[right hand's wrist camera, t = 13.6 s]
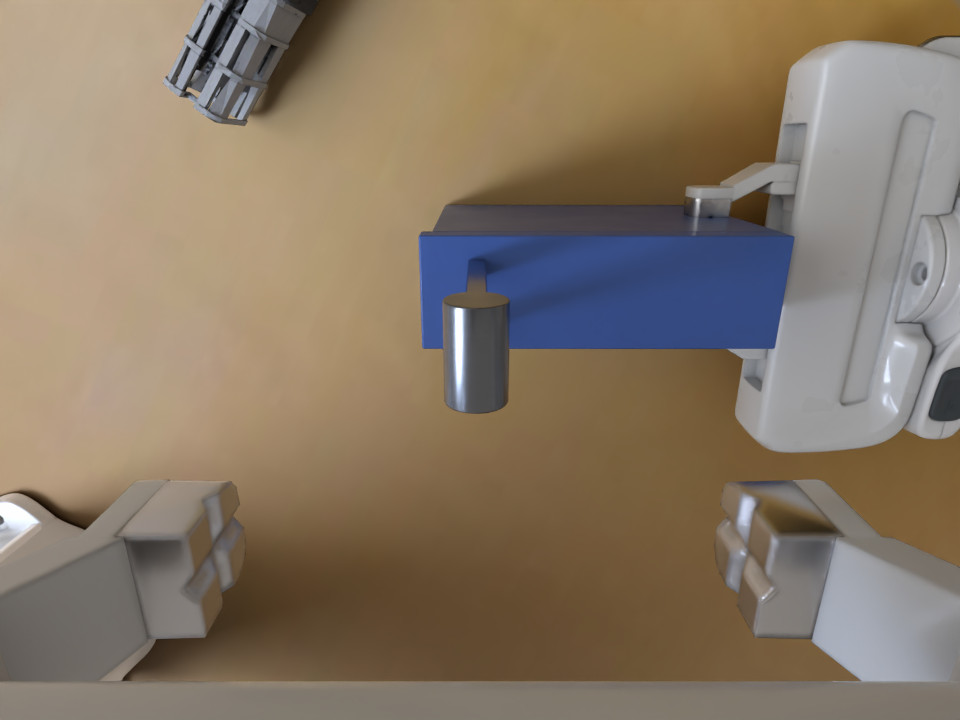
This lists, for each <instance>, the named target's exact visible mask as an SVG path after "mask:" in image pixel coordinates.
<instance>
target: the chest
mask: <svg viewBox="0 0 960 720" xmlns="http://www.w3.org/2000/svg"><path fill="white" fill-rule="evenodd" d="M433 232H780V231H777V230H773V229H770V228H767V227H763V226H760V225H757V224H754V223H750V222H747V221H744V220H741V219H737V218H734V217H731V216H729V218H713V217H708V218H693V217H689V216H688V215H684V205H446V206H445V207H444V209H443V211H442V213H441V215H440V217H439V219H438V221H437V223H436V225H435V227H434V229H433Z"/></svg>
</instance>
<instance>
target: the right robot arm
mask: <svg viewBox="0 0 960 720" xmlns="http://www.w3.org/2000/svg"><path fill="white" fill-rule="evenodd" d="M239 505H240V502H239V497H238V492H237V487H236V486H235V485H234V484H233V483H232V482H231V481H193V480H172V481H171V480H141V481H136V482H134V483H133V484H132V485H131V486H130V487H129V488H128V489H127V490H126V491H125V492H124V493H123V494H122V495H121V496H120V497H119V498H118V499H117V500H116V501H115V502H114V503H113V504H112V505H111V506H110V507H109V508H108V509H107V510H106V511H104V512H103V513H102V514H101V515H100V516H99V517H98V518H97V519H96V520H95V521H94V522H93V523H92V524H91V525H90V526H89V527H88V528H87V529H86V530H84V529H81V528H79V527H76V526H74V525H71V524H69V523H66V522H64V521H62V520H60V519H58V518H57V517H55V516H54V515H53V514H52V513H50V512H49V511H48V510H47V509H45V508H44V507H43V506H41V505H40V504H39V503H37V502H36V501H34V500H33V499H31V498H29V497H28V496H25V495H23V494H19V493H11V494H7V495H4V496H0V515H1V516H0V720H960V567H958V566H956V565H954V564H951V563H949V562H947V561H945V560H942V559H940V558H938V557H935V556H933V555H931V554H929V553H926V552H924V551H922V550H920V549H917V548H915V547H913V546H911V545H908V544H906V543H904V542H902V541H899V540H897V539H895V538H893V537H881V536H880V535H879V534H878V533H877V532H876V531H875V530H874V529H873V528H872V527H871V526H870V525H869V524H868V523H867V522H866V521H865V520H864V519H863V518H862V517H861V516H860V515H859V514H858V513H857V512H856V511H855V510H854V509H853V508H852V507H851V506H850V505H848V504H847V503H846V502H845V501H844V500H843V499H842V498H841V497H840V496H839V495H838V494H837V493H836V492H835V491H834V490H833V489H832V488H831V487H830V486H829V485H828V484H827V483H826V482H823V481H821V480H818V479H815V480H790V481H750V482H726V484H725V486H724V489H723V491H722V496H721V501H720V505H721V507H722V508H723V510H724V511H725V513H726V515H727V517H726V518H725V519H724V520H723V521H722V522H721V523H720V524H719V525H718V526H717V527H716V534H715V542H714V548H715V558H716V564H717V567H718V570H719V573H720V575H721V577H722V579H723V581H724V583H725V585H726V586H728V587H729V588H731V589H732V590H734V591H735V592H737V593H738V594H739V595H738V601H737V607H738V608H739V610H740V612H741V614H742V616H743V617H744V619H745V621H746V623H747V624H748V626H749V628H750V630H751V632H752V633H753V635H754V637H755V638H789V639H812V641H811V642H813V643H814V644H815V645H816V646H818V647H819V648H820V649H821V650H823V651H824V652H825V653H827V654H828V655H829V656H830V657H832V658H833V659H834V660H835V661H837V662H838V663H839V664H841V665H842V666H843V667H844V668H846V669H847V670H848V671H850V672H851V673H852V674H853V675H855V676H856V677H857V678H858V679H860V680H861V681H122V680H123V677H124V676H125V675H126V674H127V673H128V672H129V671H130V670H131V669H132V668H133V667H134V666H135V665H136V664H137V663H138V662H139V661H140V660H141V659H142V658H144V657H145V656H146V654H147V653H148V652H149V651H150V650H151V648H152V647H153V645H154V643H155V641H156V639H170V638H205V637H206V635H207V633H208V632H209V630H210V628H211V626H212V625H213V623H214V621H215V619H216V617H217V616H218V614H219V612H220V610H221V608H222V607H223V601H222V595H221V594H222V593H223V592H225V591H226V590H228V589H229V588H231V587H232V586H234V585H235V583H236V581H237V579H238V577H239V575H240V573H241V570H242V566H243V562H244V558H245V542H246V540H245V533H244V527H243V526H242V525H241V524H240V523H239V522H238V521H237V520H236V519H235V518H234V517H233V515H234V513H235V511H236V510H237V508H238V507H239Z"/></svg>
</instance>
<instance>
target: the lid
mask: <svg viewBox="0 0 960 720" xmlns="http://www.w3.org/2000/svg"><path fill="white" fill-rule="evenodd" d="M794 238H795V237H794V236H792V235H789V234H786V233H782V232H421V234H420V235H419V261H420V291H421V321H422V347H423V348H424V349H443V355H444V401H445V403H446V405H447V406H448V407H450V408H451V409H453V410H456V411H459V412H463V413H473V414H480V413H489V412H493V411H497V410H499V409H501V408H503V407H504V406H506V404H507V403H508V387H509V349H774V348H775V345H776V339H777V334H778V328H779V322H780V317H781V311H782V306H783V300H784V294H785V289H786V283H787V278H788V272H789V266H790V261H791V255H792V250H793V244H794Z"/></svg>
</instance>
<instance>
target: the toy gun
mask: <svg viewBox="0 0 960 720" xmlns="http://www.w3.org/2000/svg"><path fill="white" fill-rule="evenodd" d="M318 1H319V0H205V1H204V3H203V5H202V7H201V9H200V11H199V13H198V15H197V17H196V19H195V21H194V23H193V25H192V27H191V29H190V31H189V33H188V35H186V37H185V38H184V42H185V44H184V46H183V48H182V50H181V52H180V54H179V55H178V57H177V59H176V61H175V63H174V65H173V67H172V69H171V71H170V73H169V75H168V76H166V77H165V79H164V81H163V83H164V84H165V85H166V86H167V87H168V88H169V89H170V90H171V91H173V92H174V93H175V94H176V95H178V96H179V97H185V98H189V99H190V100H191V101H192V102H194V103H195V105H194V106H193V107H194V108H195V109H196V110H198V111H199V112H200V113H202V114H203V115H205V116H206V117H208V118H209V119H211V120H213V121H214V122H217V123H223V124H232V125H242V126H245V125H246V123H247V122H248V121H247V118H248V116H249V114H250V112H251V111H252V109H253V107H254V105H255V103H256V102H257V100H258V98H259V96H260V95H261V93H262V91H263V89H266V88H267V85H268V84H267V82H268V80H269V78H270V76H271V74H272V73H273V71H274V69H275V67H276V65H277V64H278V62H279V60H280V58H281V56H282V54H283V53H284V51H285V50H287V49H288V48H289V46H290V45H289V44H288V43H289V42H290V40H291V38H292V37H293V35H294V33H295V32H296V30H297V29H298V27H299V25H300V24H301V22H302V20H303V19H304V18H305V16H306V15H312V13H313V11H314V9H315V7H316V5H317V3H318ZM195 71H196V72H195ZM194 73H195V74H194ZM179 75H180V76H179ZM193 75H194V76H193ZM178 76H179V78H178ZM192 77H193V79H192ZM191 79H192V81H191ZM187 87H190V88H192V89H195V90H197V91H199V92H201V94H200V96H199V98H196V97H195V96H194V95H193V94H192V93H190V92H186V89H187ZM212 102H213V104H212V105H211V107H210V108H209V106H210V104H211V103H212ZM208 108H209V110H208ZM207 110H208V111H207ZM229 114H231V115H232V116H234V117H236V118H237V119H228V116H229Z"/></svg>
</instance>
